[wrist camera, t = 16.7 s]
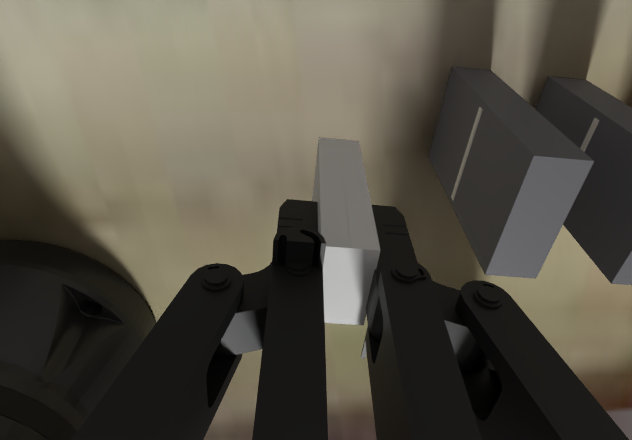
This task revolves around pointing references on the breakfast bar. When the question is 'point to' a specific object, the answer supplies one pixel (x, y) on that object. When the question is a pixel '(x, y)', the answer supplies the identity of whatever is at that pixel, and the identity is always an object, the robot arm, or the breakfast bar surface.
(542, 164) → the domino
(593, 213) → the domino
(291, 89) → the breakfast bar surface
